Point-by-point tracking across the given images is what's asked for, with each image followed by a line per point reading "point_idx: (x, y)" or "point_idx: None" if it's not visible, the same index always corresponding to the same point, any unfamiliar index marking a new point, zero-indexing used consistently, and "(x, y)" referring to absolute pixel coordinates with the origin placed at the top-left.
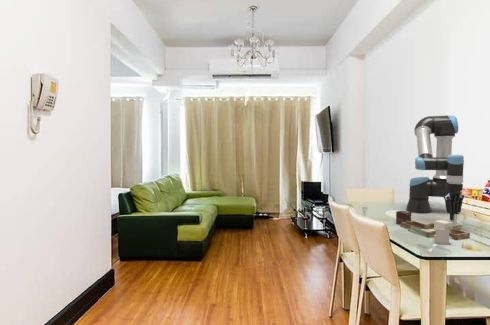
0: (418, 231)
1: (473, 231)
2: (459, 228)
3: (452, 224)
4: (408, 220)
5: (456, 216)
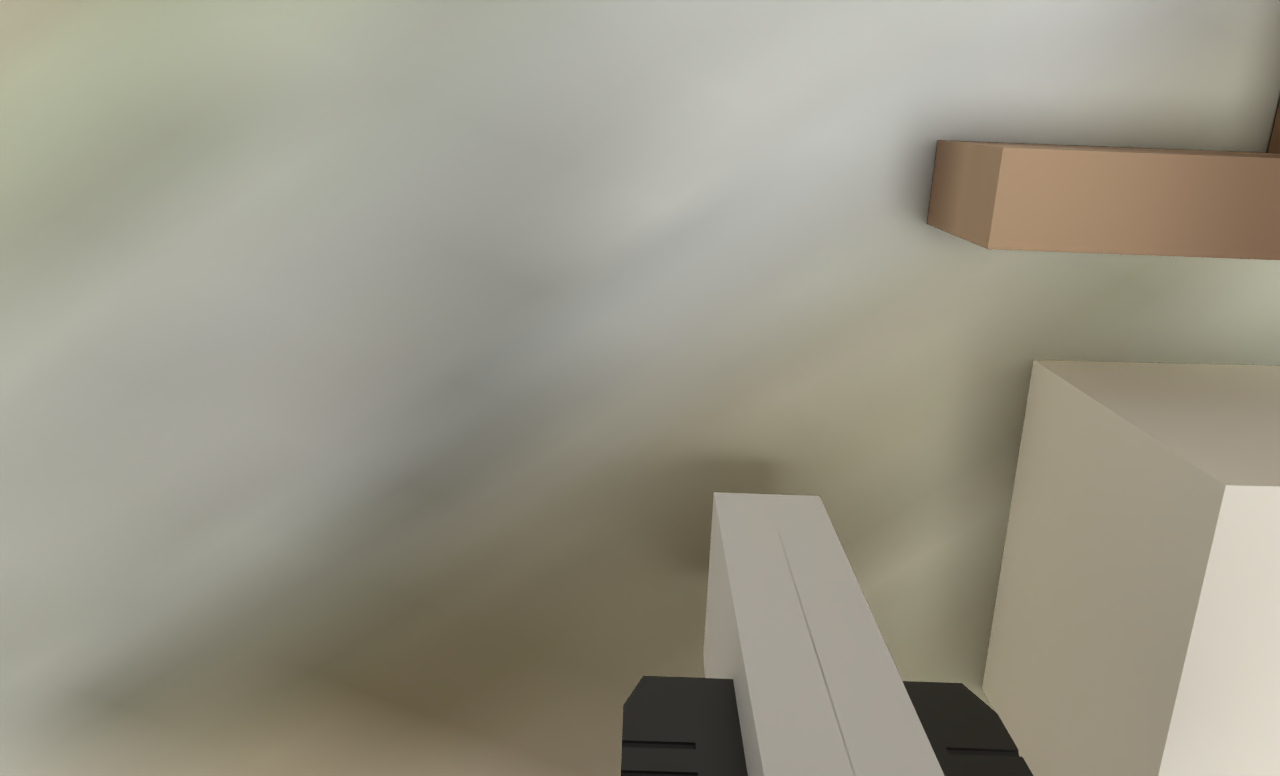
0: None
1: (374, 47)
2: (1084, 153)
3: (1174, 446)
4: None
5: (792, 752)
